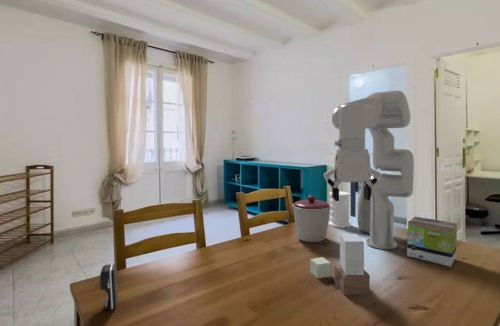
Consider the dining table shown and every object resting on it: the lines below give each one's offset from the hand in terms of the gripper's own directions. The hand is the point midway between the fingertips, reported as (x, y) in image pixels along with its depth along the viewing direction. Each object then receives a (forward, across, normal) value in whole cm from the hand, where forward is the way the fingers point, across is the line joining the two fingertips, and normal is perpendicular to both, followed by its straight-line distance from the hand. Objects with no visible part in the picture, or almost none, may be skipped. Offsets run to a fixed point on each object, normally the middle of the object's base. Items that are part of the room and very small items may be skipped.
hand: (351, 199), depth 91 cm
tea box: (+29, +40, +21) cm, 53 cm away
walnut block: (+28, 0, 0) cm, 28 cm away
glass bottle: (+28, +30, +55) cm, 69 cm away
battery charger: (+28, -73, -6) cm, 79 cm away
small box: (+22, 0, 0) cm, 23 cm away
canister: (+28, -1, +47) cm, 55 cm away
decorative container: (+29, +20, +69) cm, 77 cm away
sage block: (+28, -7, +10) cm, 31 cm away
